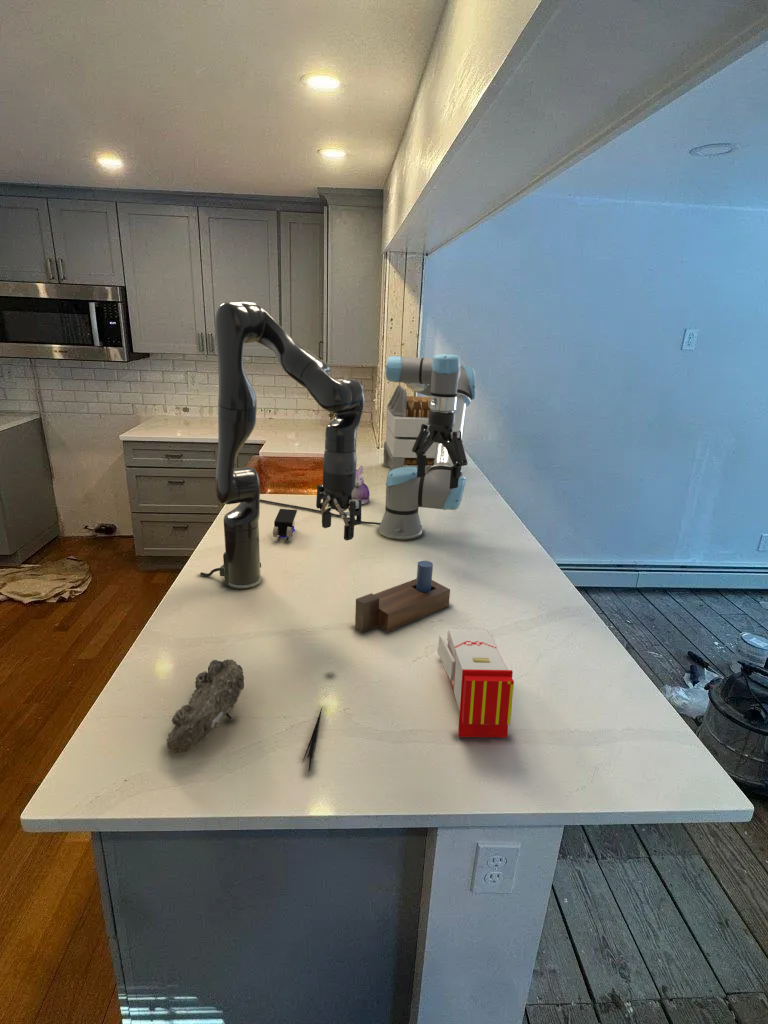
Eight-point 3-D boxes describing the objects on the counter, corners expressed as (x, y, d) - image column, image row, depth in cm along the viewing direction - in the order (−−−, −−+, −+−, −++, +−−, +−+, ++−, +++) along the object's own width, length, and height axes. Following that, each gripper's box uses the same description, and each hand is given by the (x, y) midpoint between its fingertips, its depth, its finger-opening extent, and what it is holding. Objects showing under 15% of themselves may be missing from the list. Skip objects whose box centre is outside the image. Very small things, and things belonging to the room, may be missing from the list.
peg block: (346, 621, 143) (347, 593, 140) (422, 591, 160) (424, 566, 157) (371, 639, 136) (372, 609, 133) (448, 605, 153) (451, 579, 150)
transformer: (382, 463, 289) (386, 382, 275) (445, 464, 293) (451, 384, 279) (390, 482, 257) (394, 392, 243) (460, 483, 261) (468, 394, 247)
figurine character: (292, 547, 188) (298, 526, 201) (292, 527, 184) (297, 507, 198) (272, 547, 187) (279, 526, 201) (271, 526, 184) (278, 506, 197)
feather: (331, 679, 122) (336, 673, 122) (307, 777, 96) (313, 769, 95) (324, 675, 122) (329, 669, 121) (298, 772, 95) (304, 764, 95)
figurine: (353, 507, 224) (354, 470, 219) (343, 499, 232) (343, 463, 227) (374, 504, 228) (376, 468, 223) (364, 496, 237) (365, 462, 231)
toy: (488, 613, 130) (523, 677, 101) (484, 667, 133) (517, 744, 104) (435, 612, 130) (455, 676, 101) (432, 666, 133) (451, 743, 103)
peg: (411, 603, 153) (414, 562, 149) (422, 599, 156) (425, 559, 152) (422, 609, 150) (425, 568, 146) (432, 604, 153) (436, 564, 149)
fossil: (192, 660, 117) (244, 628, 112) (224, 691, 120) (276, 661, 115) (142, 746, 98) (202, 712, 93) (182, 779, 101) (242, 748, 96)
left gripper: (308, 462, 132) (307, 526, 137) (346, 479, 122) (343, 547, 128) (333, 458, 136) (331, 520, 142) (372, 473, 127) (368, 540, 133)
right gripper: (403, 405, 168) (399, 474, 175) (466, 419, 150) (459, 495, 157) (421, 403, 172) (416, 470, 180) (484, 416, 155) (477, 490, 162)
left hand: (337, 533), depth 135 cm, fingers open, 8 cm apart
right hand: (436, 482), depth 168 cm, fingers open, 13 cm apart
